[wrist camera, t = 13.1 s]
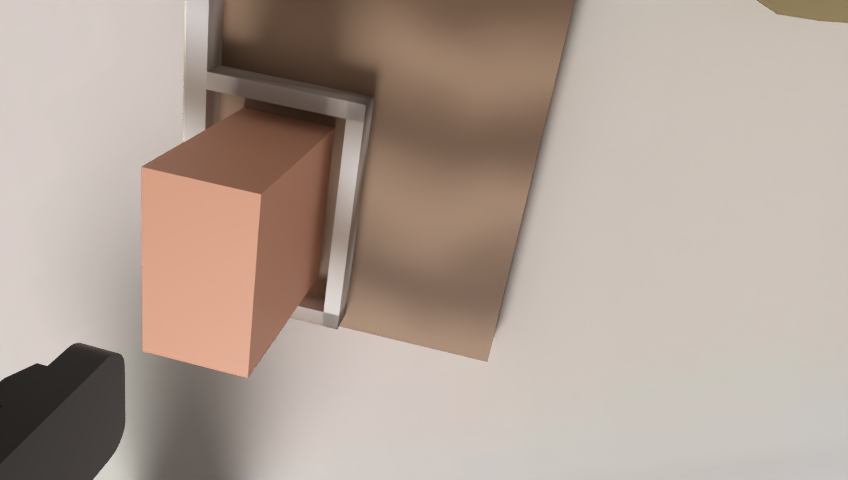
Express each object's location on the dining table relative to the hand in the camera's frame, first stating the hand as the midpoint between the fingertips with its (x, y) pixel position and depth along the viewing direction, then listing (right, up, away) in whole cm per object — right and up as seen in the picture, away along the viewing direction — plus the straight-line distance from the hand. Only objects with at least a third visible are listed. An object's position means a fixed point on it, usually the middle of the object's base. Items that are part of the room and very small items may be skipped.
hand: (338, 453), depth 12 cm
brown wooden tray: (-1, +11, +22) cm, 24 cm away
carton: (-6, +6, +23) cm, 24 cm away
